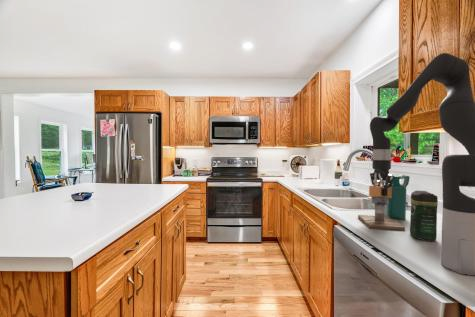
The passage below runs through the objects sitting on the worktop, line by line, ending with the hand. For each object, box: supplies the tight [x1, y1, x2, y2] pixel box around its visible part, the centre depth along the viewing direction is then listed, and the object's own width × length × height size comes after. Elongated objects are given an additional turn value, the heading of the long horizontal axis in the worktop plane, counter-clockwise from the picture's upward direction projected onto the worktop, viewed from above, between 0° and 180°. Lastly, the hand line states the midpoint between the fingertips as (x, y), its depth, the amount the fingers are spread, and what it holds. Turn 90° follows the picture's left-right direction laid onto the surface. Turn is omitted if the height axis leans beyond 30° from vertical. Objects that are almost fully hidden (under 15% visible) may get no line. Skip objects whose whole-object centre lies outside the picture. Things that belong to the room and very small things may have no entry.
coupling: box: [367, 185, 392, 205], centre depth 116 cm, size 10×7×8 cm
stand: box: [357, 204, 406, 231], centre depth 116 cm, size 18×14×10 cm
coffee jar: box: [409, 190, 439, 242], centre depth 97 cm, size 10×8×19 cm
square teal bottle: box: [385, 174, 410, 220], centre depth 128 cm, size 10×8×22 cm
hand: (381, 195), depth 115 cm, fingers closed on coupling, 4 cm apart
